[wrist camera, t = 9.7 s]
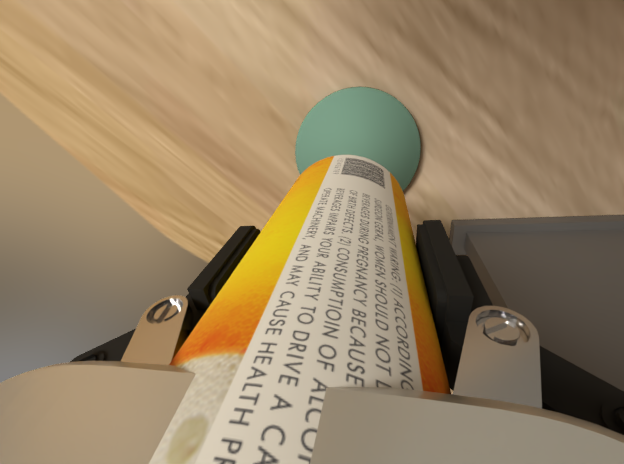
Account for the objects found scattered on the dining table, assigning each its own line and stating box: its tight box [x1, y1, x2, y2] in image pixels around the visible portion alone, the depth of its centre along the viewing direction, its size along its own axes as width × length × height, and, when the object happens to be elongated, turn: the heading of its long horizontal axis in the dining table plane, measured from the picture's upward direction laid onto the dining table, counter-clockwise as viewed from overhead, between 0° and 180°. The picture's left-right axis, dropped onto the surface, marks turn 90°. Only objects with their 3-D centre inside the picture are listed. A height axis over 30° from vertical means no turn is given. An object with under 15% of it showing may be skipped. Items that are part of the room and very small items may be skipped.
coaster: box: [295, 87, 420, 191], centre depth 23 cm, size 10×10×1 cm
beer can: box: [149, 155, 451, 464], centre depth 9 cm, size 6×6×15 cm
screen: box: [449, 215, 624, 391], centre depth 17 cm, size 3×15×16 cm, turn 98°
